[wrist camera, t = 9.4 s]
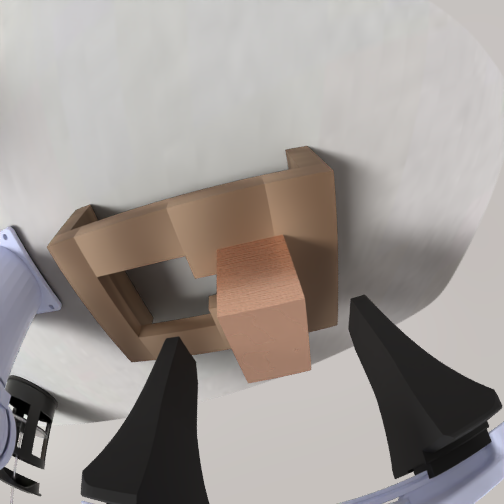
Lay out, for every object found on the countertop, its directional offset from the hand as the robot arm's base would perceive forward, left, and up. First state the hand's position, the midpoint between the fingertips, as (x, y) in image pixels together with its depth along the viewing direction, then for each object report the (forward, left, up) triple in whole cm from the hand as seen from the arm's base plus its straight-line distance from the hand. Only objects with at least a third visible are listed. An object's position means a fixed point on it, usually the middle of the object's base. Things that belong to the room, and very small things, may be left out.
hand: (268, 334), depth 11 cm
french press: (-39, -18, -8) cm, 44 cm away
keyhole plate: (-3, 0, -7) cm, 8 cm away
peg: (0, 0, -7) cm, 7 cm away
